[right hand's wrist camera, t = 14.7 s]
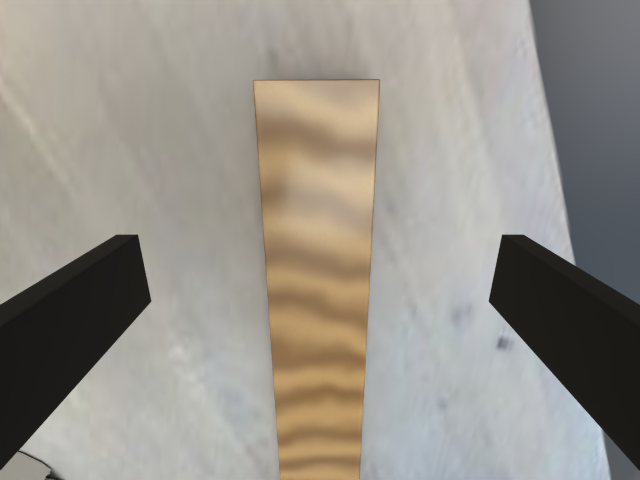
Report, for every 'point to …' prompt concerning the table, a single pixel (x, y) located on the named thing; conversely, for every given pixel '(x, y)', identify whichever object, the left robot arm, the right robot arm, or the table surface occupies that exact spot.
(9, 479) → the ashtray
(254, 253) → the table surface
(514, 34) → the table surface
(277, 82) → the wooden beam
